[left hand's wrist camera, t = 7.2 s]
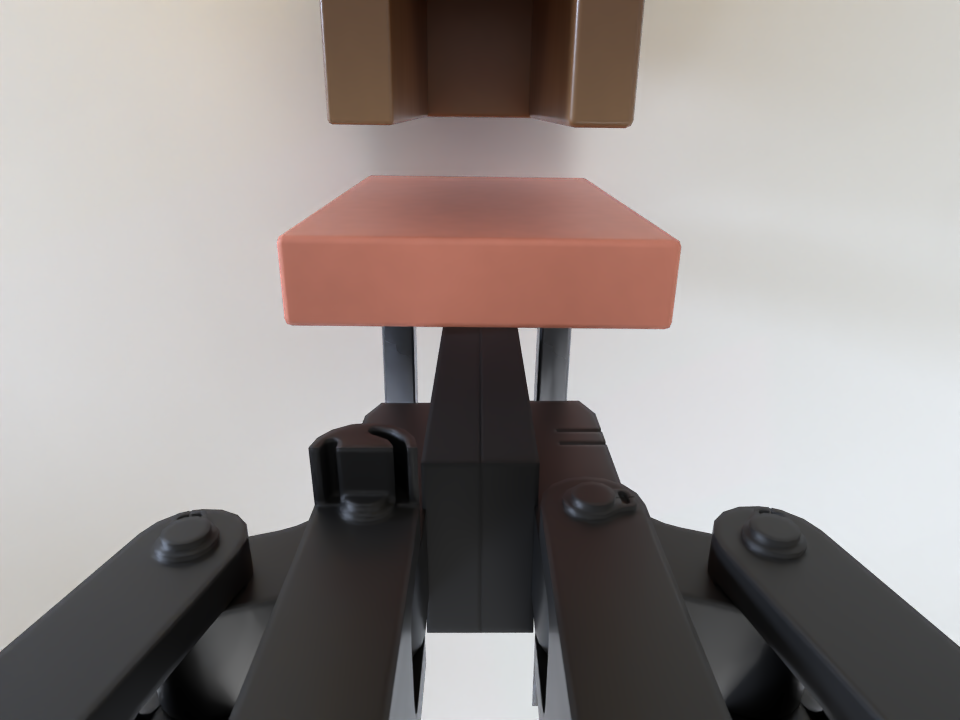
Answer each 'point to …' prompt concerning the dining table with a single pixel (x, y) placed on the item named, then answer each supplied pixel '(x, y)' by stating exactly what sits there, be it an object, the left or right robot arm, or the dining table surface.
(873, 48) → the dining table surface
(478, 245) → the drawer
